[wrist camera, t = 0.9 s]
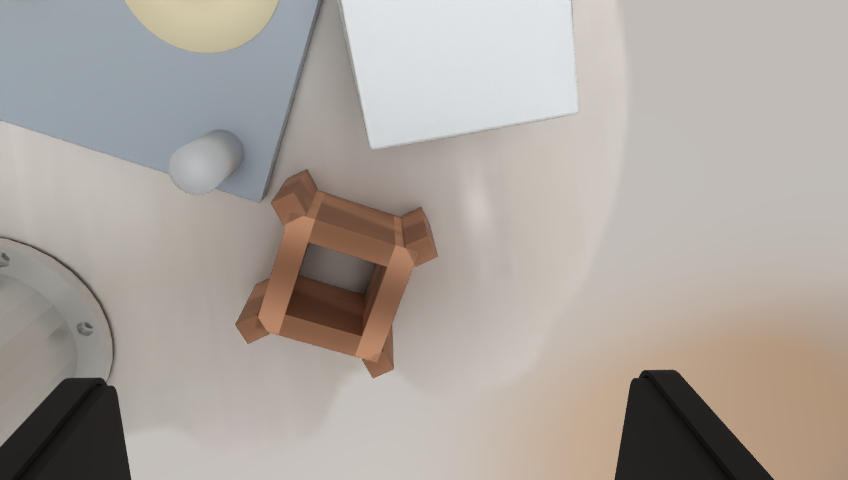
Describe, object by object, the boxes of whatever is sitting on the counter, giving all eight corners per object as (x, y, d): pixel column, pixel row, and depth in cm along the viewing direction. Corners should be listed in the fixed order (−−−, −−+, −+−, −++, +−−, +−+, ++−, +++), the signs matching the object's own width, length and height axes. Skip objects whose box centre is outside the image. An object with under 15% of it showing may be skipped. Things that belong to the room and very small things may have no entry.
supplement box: (369, 110, 31) (361, 155, 19) (341, -43, 28) (312, -101, 17) (506, 88, 31) (584, 119, 19) (491, -66, 29) (569, -141, 17)
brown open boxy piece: (387, 336, 35) (388, 382, 31) (251, 297, 34) (231, 339, 29) (435, 212, 33) (444, 241, 28) (291, 164, 32) (275, 186, 27)
